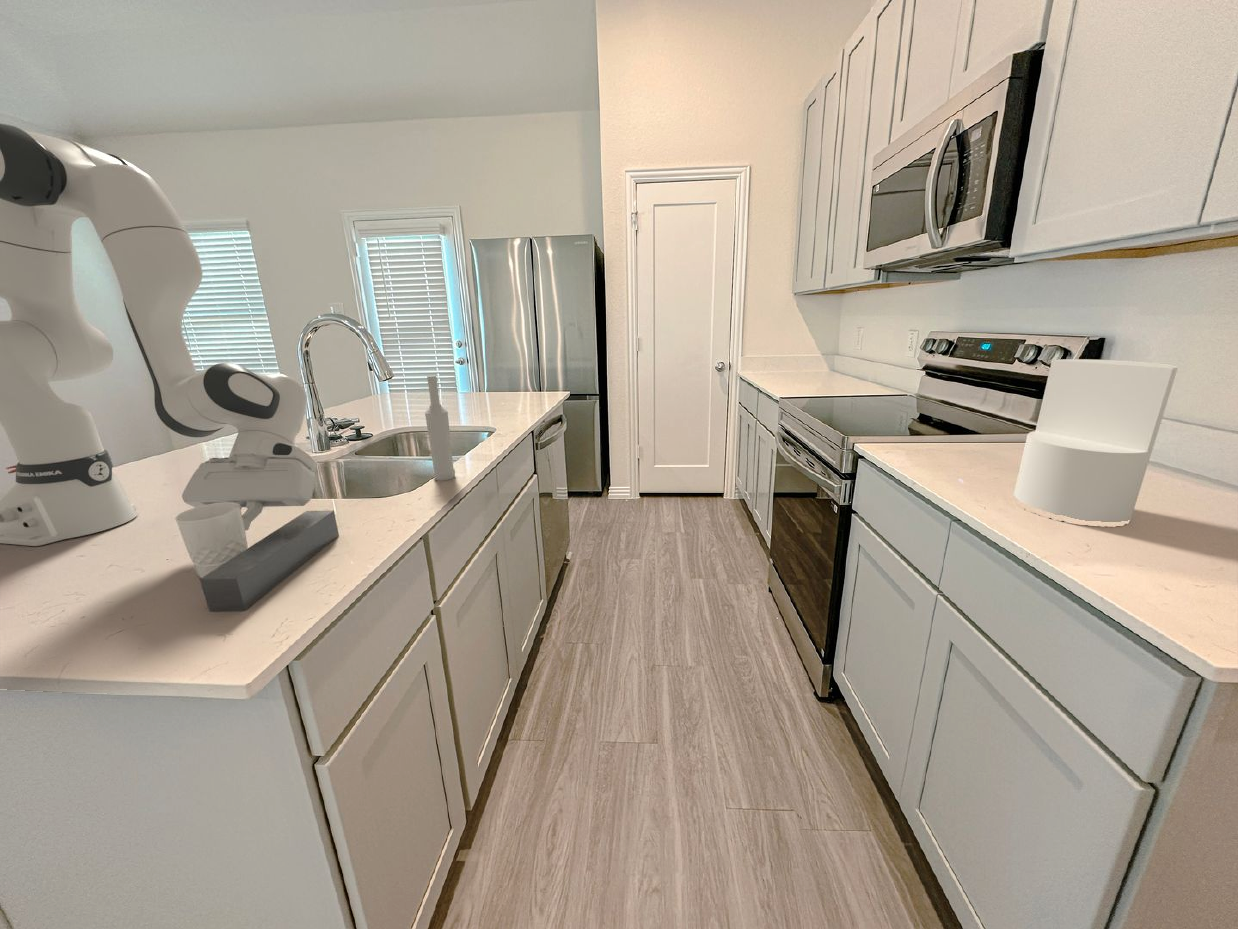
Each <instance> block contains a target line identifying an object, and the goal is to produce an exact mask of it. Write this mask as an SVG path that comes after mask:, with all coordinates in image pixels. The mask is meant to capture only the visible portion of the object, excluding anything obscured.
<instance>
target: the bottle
mask: <svg viewBox="0 0 1238 929" xmlns="http://www.w3.org/2000/svg"><path fill="white" fill-rule="evenodd" d="M426 379H427V385H428V390H429V400H430V404H429V408H428V409H427V410H426V411H425V412H424V415H425V422H426V428H427V434H428V440H429V441H428V442H429V447H430V454H431V459H432V460H431V461H432V465H433V466H432V468H433V471H432V474H433V478H434V480H435V481H443V482H444V481H449V480H452V479H454V478H455V476H456V470H455V468H454V463H453V462H454V459H453V453H452V452H453V451H452V442H451V433H450V432H451V430H450V423H449V422H450V421H449V412H448V409H446V408H445V407H443V406H442V404H441V403H440V396H439V389H438V380H437V375H427V377H426Z"/></svg>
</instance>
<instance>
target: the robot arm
mask: <svg viewBox="0 0 1238 929" xmlns="http://www.w3.org/2000/svg"><path fill="white" fill-rule="evenodd" d="M80 218H88V219H89V220H90V222H91V223H92V225H93V227H94V230H95V231H96V233H97V236H98V238H99V240H100V242H101V244H102V246H103V248H104V250H105V252H106V254H107V257H108V258H109V261H110V263H111V265H112V268H113V270H114V273H115V275H116V278H117V282H118V284H119V287H120V291H121V295H122V298H123V299H122V301H123V304H124V308H125V313H126V316H127V320H128V321H129V325H130V327H131V328H130V329H132V332H133V335H134V337H135V341H136V342H137V345H138V348H139V350H140V352H141V355H142V358H143V360H144V362H145V365H146V368H147V370H148V372H149V374H150V377H151V380H152V384H153V389H154V408H155V412H156V415H157V416H158V418H159V420H160V421H161V422H162V423H163V424H164V426H166V427H167V428H168V429H170V430H171V431H173V432H175V433H177V434H179V435H181V436H185V437H190V438H205V437H208V436H211V435H214V434H215V433H217V432H218V431H220V430H222V429H224V428H225V427H227V426H230V425H231V427H232V426H233V427H235V428H236V430H237V432H238V433H237V434H236V435H237V436H236V438H235V440H234V443H233V446H232V448H231V450H230V453H229V456H228V457H212V458H209V459H208V460H206V461H204V462H202V463H200V464H199V466H198V468H196V469H195V471H194V472H193V474H192V476H191V477H190V479H189V481H188V482H187V484H186V486H185V488H184V490H183V492H182V494H181V498H182V501H183V502H184V503H185V504H187V505H189V506H191V507H192V508H196V507H199V506H203V505H208V504H214V503H222V502H234V503H238V504H239V505H240V508H241V510H242V508H246V511H245V512H244V513H242V518H243V523H244V528H245V532H246V531H247V532H248V530H249V528H250V527H251V523H252V522H253V521H254V520H255V519H256V518H257V517H258V516H260V515H261V514H262V512H263V508H268V507H269V508H270V507H271V508H272V507H273V508H274V507H275V508H276V507H304V506H306V505H307V504H308V503H309V502H310V501H311V499H312V497H313V493H314V489H315V485H316V475H315V471H316V470H317V469H318V468H317V467H318V462H317V461H316V460H315V459H314V458H313V456H311V455H310V454H309V453H308V452H306V451H305V450H304V449H302V448H301V447H299V446H297V445H296V437H297V436H298V435H299V433H300V431H301V430H302V427H303V424H304V420H305V418H306V417H305V416H306V412H307V407H308V406H307V405H308V398H307V396H308V395H307V391H306V390H305V388H304V386H302V384H301V383H300V382H299V381H297V380H295V379H294V378H292V377H290V376H288V375H285V374H282V373H261V372H255V371H252V370H250V369H248V368H246V367H244V366H242V365H239V364H237V363H232V362H220V363H216V364H213V365H211V366H209V367H206V368H205V369H203V370H200V371H198V372H197V369H196V367H195V364H194V361H193V359H192V356H191V353H190V351H189V349H188V348H189V347H188V345H187V343H186V340H185V338H184V336H183V335H184V334H183V330H182V329H183V328H182V324H183V323H182V322H183V317H184V314H185V311H186V309H187V307H188V305H189V303H190V301H191V300H192V298H193V297H194V295H195V293H196V292H197V290H198V289H199V287H200V285H201V283H202V279H203V270H202V265H201V264H202V263H201V259H200V257H199V254H198V251H197V249H196V247H195V245H194V242H193V241H192V239H191V237H190V235H189V232H188V231H187V228H186V227H185V225H184V223H183V222H182V219H181V217H180V216H179V214H178V212H177V211H176V209H175V208H174V206H173V205H172V203H171V201H170V200H169V199H168V197H167V195H166V194H165V193H164V191H163V190H162V189H161V187H160V186H159V184H158V183H157V182H156V181H155V180H154V178H152V177H151V176H150V175H149V174H148V173H146V172H144V171H143V170H141V169H140V168H138V167H137V166H135V165H134V164H133V163H131V162H129V161H127V160H125V159H123V158H121V157H119V156H117V155H114V154H111V153H105V152H103V151H100V150H98V149H95V148H93V147H89V146H88V145H85V144H82V143H79V142H76V141H73V140H70V139H67V138H58V137H54V136H50V135H47V134H43V133H38V132H35V131H29V130H24V129H21V128H20V127H17V126H15V125H12V124H6V123H0V298H1V299H3V300H5V301H6V303H7V304H8V307H9V309H10V314H11V318H10V320H0V425H1V426H2V427H3V428H2V429H3V430H4V432H5V434H6V435H7V437H8V441H9V442H10V444H11V446H12V449H13V451H14V454H15V456H16V458H17V460H18V462H17V463H16V464H15V465H13V466H12V465H11V466H8V467H6V468H5V469H6V470H9V469H11V470H10V471H8V472H7V473H8V474H13V473H15V484H14V485H13V486H12V487H11V488H10V489H9V490H8V491H7V492H6V493H5V494H3V495H2V496H1V497H0V544H6V545H7V544H8V545H16V546H18V545H19V546H27V547H28V546H31V547H37V546H43V545H47V544H51V543H55V542H60V541H63V540H68V539H74V538H78V537H83V536H87V535H91V534H95V533H98V532H99V533H100V532H103V531H107V530H110V529H113V528H116V527H118V526H121V525H123V524H125V523H128V522H130V521H131V520H133V519H134V518H136V517H137V516H138V512H137V510H136V508H137V507H136V504H135V502H130V500H129V497H128V495H127V493H126V490H125V489H124V487H123V484H122V483H121V481H120V479H119V477H118V475H117V474H116V473H115V472H114V471H113V468H114V464H113V462H112V457H111V455H110V454H109V452H108V450H106V449H105V448H104V446H103V443H102V440H101V436H100V434H99V431H98V427H97V425H96V423H95V419H94V417H93V415H92V414H91V412H90V411H89V410H87V409H86V408H84V407H82V406H80V405H77V404H74V403H71V402H70V403H69V402H66V401H65V400H62V399H61V398H60V397H59V396H58V395H57V394H56V393H55V391H54V390H53V389H52V387H51V386H50V383H51V382H59V381H69V380H74V379H75V380H76V379H82V378H85V377H88V376H91V375H95V374H97V373H100V372H102V371H105V370H106V369H107V370H108V368H109V367H110V366H111V364H112V363H113V360H114V348H113V346H112V343H111V342H110V340H109V339H108V337H107V336H106V334H104V333H103V332H102V331H101V330H100V329H98V328H97V327H95V326H94V325H92V324H91V323H90V322H89V321H88V320H87V319H86V317H85V316H84V314H83V313H82V311H81V309H80V307H79V305H78V303H77V300H76V296H75V291H74V279H73V278H74V277H73V276H74V274H73V237H72V236H73V235H72V227H73V224H74V223H75V221H76V220H78V219H80ZM49 382H50V383H49Z"/></svg>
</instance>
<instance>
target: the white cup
mask: <svg viewBox="0 0 1238 929" xmlns="http://www.w3.org/2000/svg"><path fill="white" fill-rule="evenodd" d="M242 515H243V513H242V509H241V508H240V505H239V504H238V503H234V502H222V503H214V504H208V505H203V506H199V507H196V508H195V507H192V508H189V509H187V510H184V511H183V512H181V513H179V514H178V515H176V516H175V522H176V524H177V528H178V530H179V532H180V535H181V537H182V540H183V543H184V546H185V548H186V551H187V553H188V556H189V559H190V561H191V562H192V563H193V566H194V570H195V572H196V575H197V576H199V579H201V578H202V577H204V576H205V575H207V574H209V573H210V572H212V571H213V570H215V569H216V568H218V567H220V566H221V565H223V564H224V563H226V562H227V561H229V560H230V559H232V558H234V557H235V556H237V555H238V554H240V553H241V552H243V551H245V550H246V549H248V548H249V547H248V541H247V532H246V531H245V528H244V523H243V518H242Z"/></svg>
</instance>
